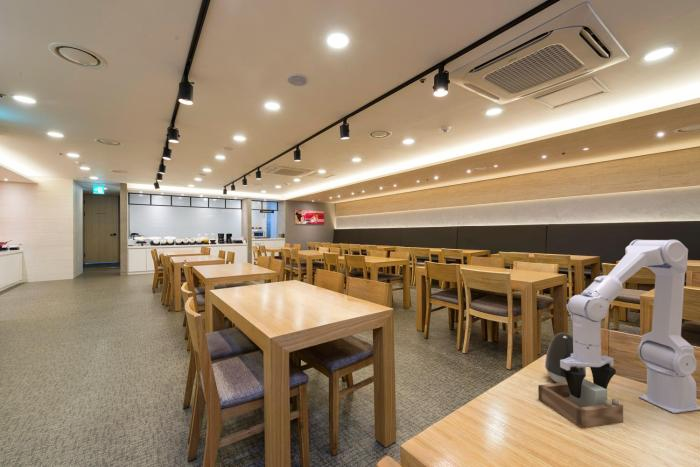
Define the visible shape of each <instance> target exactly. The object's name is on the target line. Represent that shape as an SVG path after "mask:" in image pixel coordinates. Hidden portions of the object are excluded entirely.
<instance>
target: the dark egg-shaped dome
mask: <svg viewBox="0 0 700 467" xmlns="http://www.w3.org/2000/svg"><path fill="white" fill-rule="evenodd" d="M546 351H547V352H546V356H545V362H544V367H545V369H546V372H547V374H548V376H549V378H550V379H551V380H552V381H554V382H555V383H563V382H567V381H566V379H565V377H564V375H563V373H562V371H561V370H560V360H563V359H566V358H568V357H571V353H573V335H571V334H569V333H567V332H559V333H557V334H555V335H554V337H553V338H552V339H551V341H550V343H549V345H548V349H547V350H546ZM586 368H587V367H583V368H578V370H579V372H581V373H583V374H585V377H584V379H586V377H587V369H586Z"/></svg>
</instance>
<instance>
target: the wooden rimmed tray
mask: <svg viewBox="0 0 700 467" xmlns="http://www.w3.org/2000/svg"><path fill="white" fill-rule="evenodd" d="M537 387H538V389H537V390H538V397H537V398H538V401H540V402H541V403H543V404H544V405H546V406H547V407H549V408H550V409H552V410H553V411H555V412H556V413H558V414H559V415H561V416H563V417H564V418H565V419H567V420H568V421H570V422H571V423H572V424H574V425H576V426H577V427H579V428H580V429H587V428H594V427H601V426H606V425H607V426H608V425H614V424H620V423H624V405H623V404H621V403H620V401H619V400H617V399H616V398H612V399H611V401H610V400H608V399H607V400H604V405H597V406H590V407H580V406H579V405H577V404H575V403H574V402H572V401H570V390H569V387H568V384H567V382H563V383H557V382H555V383H548V384H538V386H537Z"/></svg>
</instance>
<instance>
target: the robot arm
mask: <svg viewBox="0 0 700 467" xmlns="http://www.w3.org/2000/svg"><path fill="white" fill-rule="evenodd" d="M624 250H625V255H623V257H622V258H621V259H620V260H619V262H617V264H616V265H615V266H614V267H613V268H612V270H611V271H610V272H609V273H608V274H607V275H599V276H597V277H595V278H594V280H593V282H591V283H590V284H589V285H588V286H587V287H586V288H585V289H584V290H583V291H582V292H581V293H580V294H575V295H573V296H571V297H570V298H569V300H568V302H567V304H565V305H566V306H565V307H566V309H567V312H569V316H570V320H571V321H572V336H573V353H571V357H568V358H566V359H563V360H560V370H561V371H562V373H563V375H564V377H565V379H566V381H567V384H568V387H569V390H570V393H571V395H573V396H574V397H576V398H580V396H581V386H582V382H583V379H585V378H586V377H585V374H583V373H581V372H579V370H578V368H583V367H585V368H589V369H590V371H591V375H592V381H593V382H592V383H594V384H596V385H598V386H600V387H602V388H604V389H607V390H608V385H609V383H610V381H611V379H612V378H613V377H614V376H615V374H616V373H617V370H616V368H614V365H615V364H614V360H615V359H614V358H613V357H612V356H608V355H602V336H601V335H602V328H601V327H602V325H601V323H602V322H601V321H602V320H603V319H605V318H606V317H607V314H608V311H609V310H608V309H609V308H610V306H611V305H610V304H611V303H612V302H613V301H614V300H615V299H616V298H617V297H619V295H620V294H621V293H622V292H623V291H624V287H623V284H624V283H625V282H627V280H629V279H630V278H631V277H632V276H634V275H635V274H636V273H638V271H640V270H641V269H642V268H643V267H645V268H646V269H649V270H650V271H651V272H652V273H654V275H655V280H654V281H655V282H654V296H653V308H652V309H653V310H652V322H651V331H648V332H646V333H644V334H642V335H641V339H640V340H641V341H640V343H639V344H638V347H637V354H638V357H639V358H640V360H641V361H642V362H643V365H644V366H646V387H647V388H646V390H647V391H646V392H647V393H646V394H645V393H644V394H639V395H638V396H637V397H638V398H639V399H642V400H644V401H646V402H647V403H651V404H653V405H654V406H657V407H659V408H661V409H663V410H666V411H667V412H670V413H672V414H679V413H686V412H694V411H698V410H699V411H700V406H699V405H697V382H696V380H695V379H694V377H693V376H692V374H694V373H695V371H696V369H697V365H698V362H697V360H696V357H695V348H694V347H693V345H691V343H689V342H688V341H687V340H686V339H684V338H683V337H682V323H683V322H682V321H683V310H684V309H683V308H684V306H683V305H684V293H685V279H686V278H685V276H686V272H687V269H688V259H689V258H688V257H689V256H688V253H689V249H688V248H687V247H686V246H685V245H684V244H683V243H682V242H681V241H679V240H678V239H634V240H632V241H631V242H629V245H627V246H626V247H625V249H624ZM584 377H585V378H584Z"/></svg>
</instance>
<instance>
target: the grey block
mask: <svg viewBox="0 0 700 467" xmlns="http://www.w3.org/2000/svg"><path fill="white" fill-rule="evenodd" d="M604 400H608V388H607V389H604V388H602V387H600V386H598V385H596V384H594V383H593V382H592V381H590V380H589V379H586V378H584V379H583V382H582V386H581V396H580V398H576V397H574V396H573V395H571V393H570V401H572V402H574V403H575V404H577V405H579V406H580V407H590V406H597V405H604Z"/></svg>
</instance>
